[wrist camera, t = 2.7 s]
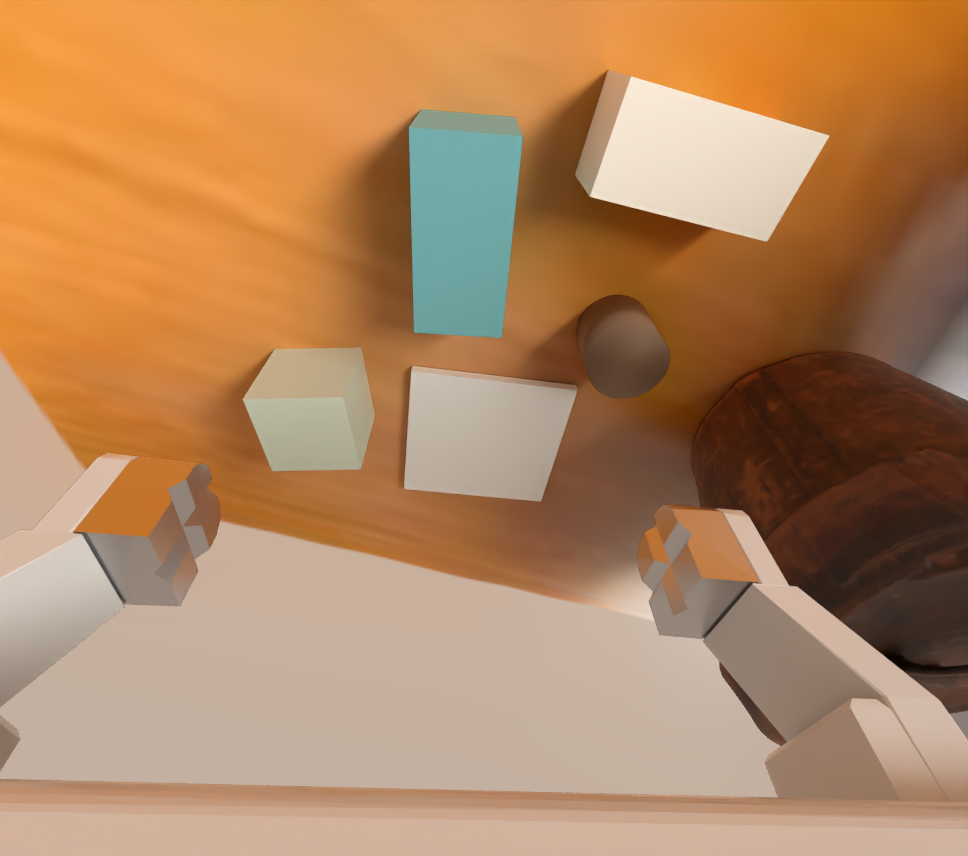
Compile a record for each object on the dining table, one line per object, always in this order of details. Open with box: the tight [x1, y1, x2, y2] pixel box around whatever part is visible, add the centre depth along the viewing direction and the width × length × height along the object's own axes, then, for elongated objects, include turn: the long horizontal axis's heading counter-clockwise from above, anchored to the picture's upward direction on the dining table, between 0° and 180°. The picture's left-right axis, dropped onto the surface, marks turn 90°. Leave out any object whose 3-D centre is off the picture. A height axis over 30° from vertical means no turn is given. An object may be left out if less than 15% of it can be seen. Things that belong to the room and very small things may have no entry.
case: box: [691, 352, 968, 746], centre depth 26 cm, size 18×20×18 cm
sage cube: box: [243, 347, 375, 471], centre depth 28 cm, size 5×5×5 cm
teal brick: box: [409, 109, 523, 338], centre depth 21 cm, size 8×4×5 cm, turn 176°
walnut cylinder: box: [576, 295, 670, 399], centre depth 26 cm, size 4×4×4 cm
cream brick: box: [575, 70, 829, 242], centre depth 20 cm, size 4×8×4 cm, turn 77°
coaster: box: [404, 366, 577, 502], centre depth 32 cm, size 10×10×1 cm
